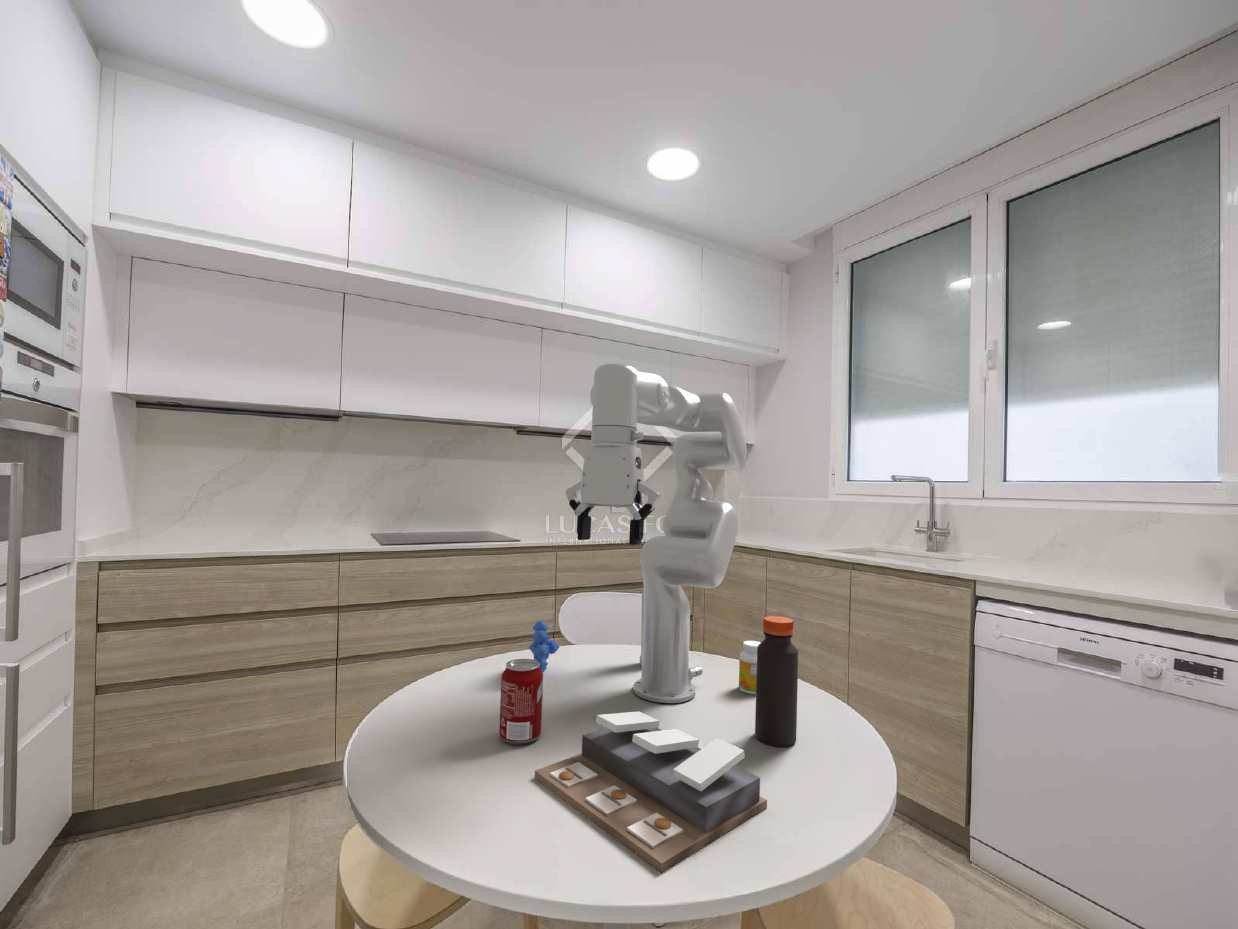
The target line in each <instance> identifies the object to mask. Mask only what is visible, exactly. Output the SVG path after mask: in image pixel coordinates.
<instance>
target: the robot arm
mask: <svg viewBox="0 0 1238 929" xmlns="http://www.w3.org/2000/svg"><path fill="white" fill-rule="evenodd" d="M589 396H590V402H591V403H590V404H592V405H591V406H592V412H591V413H592V414H591V416H592V417H591V418H592V419H591V434H590V435H591V437H590V438H591V439H590V445H589V446H587V449H586V452H585V455H584V461H583V466H582V471H581V472H582V473H581V479H580V481H578V482H577V483H576V484H574V485H571V486H570V487H567V489H565V491H564V492H565V495H566V498H567V501H568V505H569V507H570V508H571V509H572V510H573V513H574V515H575V516H576V518H577V519H576V521H577V522H576V534H577V540H578V541H585V540H586V541H587V540H590V539H591V534H592V516H591V515H589V513H591V511H592V510H593V509H594V508H595V507H608V508H609V507H612V508H613V507H614V508H626V509H627V510H628V512H629V513H630V514H631V517H632V519H630V521H629V538H628V540H629V541H628V543H629V544H630V546H635V545H641V544H642V540H643V538H644V533H645V531H644V529H645V527H644V526H645V520H647V518H648V516H649V515H650V514H651V513H653V511H654V510H655V507H656V506H657V505H658V504H657V503H658V502H659V501H660V498H661V494H660V492H658V491H657V490H655V489H653V488H652V487H650V486H648V485H647V484H646V483H645V475H644V464H643V455H642V450H641V448H640V447H636V445H638V442H639V441H643V439H644V433H643V432H642V431H638V429H637V428H638V427H637V426H638V424H642V425H646V426H652V427H653V426H654V427H663V428H666V429H667V428H668V429H671V430H675V431H678V432H679V431H680V432H684V433H685V434H682V435H680V436H679V437H677V438H676V439H675V441H674V444H673V446H672V457H673V458H672V459H673V465H674V467H673V468H674V473H675V477H676V484H677V485H676V488H675V491H674V493H673V496H672V499H671V501H670V503H669V506H668V508H667V510H666V513H665V515H664V518H663V522H662V530H663V534H664V535H659V536H654V537H650V538H649V539H647V540H646V541H645V542H644V544H643V545H642V547H641V550H640V568H641V574H642V575H641V576H642V583H643V592H644V616H643V646H642V666H641V676H640V677H641V678H639V679H637V680H636V681H635V682H634V683H633V686H632V688H633V692H634V694H635V695H636V696H637V697H639V698H641V699H644V700H646V701H650V702H654V703H660V704H679V703H684V702H687V701H690V700H691V699H694V697H695V696H696V687H695V686H694V684H693V683H692V681H691V680H693V679H694V678H696V677H700V676H702V674H703V669H702V667H701V666H699V665H697V666H694V667H690V666H689V662H690V660H689V659H690V630H691V629H690V627H691V625H690V624H691V604H690V601H689V599H688V596H687V594H686V593H685V591H684V588H683V587H682V586H688V587H694V588H695V587H696V588H703V589H712V588H717V587H718V586H720V585H721V583H722V582H723V581H724V578H725V575H726V573H727V569H728V566H729V563H730V559H731V557H732V556H731V555H732V553H733V550H734V547H735V544H736V539H737V536H738V535H737V534H738V531H739V530H738V529H739V520H738V519H739V517H738V513H737V511H736V509H735V507H734V506H733V505H732V504H730V503H729V502H726V501H721V500H720V501H719V500H713V499H714V494H715V492H714V488H713V487H712V485H711V483H710V482H709V481H708V479H707V478H706V477H705V476H704V475H703V474H702V473H701V471H700V470H737V469H740V468H742V466H743V465H745V463H746V461H747V455H748V452H747V451H748V450H747V447H748V446H747V442H746V437H745V435H744V430H743V426H742V424H741V419H740V416H739V412H738V409H737V407H736V405H735V402H734V401H733V399H732V397H730V395H729V394H727V393H725V392H705V393H694V392H693V393H692V392H689V391H687V390H685V389H682V388H680V387H678V386H675V385H672V384H667V382H666V380H664V379H663V378H662V377H661V376H660V375H658V374H656V373H652V372H646V371H640V370H637V369H636V368H635V367H634V366H631V365H629V364H624V363H605V364H601V365H599V366H598V367H597V368H596V369H595V371H594V376H593V384H592V386H591V389H590V395H589ZM579 493H580V500H579V498H578V494H579ZM645 496H647V501H646V503H645V504H644V502H645V500H644V499H645ZM643 504H644V505H643Z"/></svg>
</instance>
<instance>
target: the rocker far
mask: <svg viewBox="0 0 1238 929" xmlns="http://www.w3.org/2000/svg"><path fill="white" fill-rule="evenodd" d="M595 723H596V724H598V725H601V726H603V728H605V727H606V728H608V729H610V730H612V731H613V732H615V733H617V732H625V731H634V730H642V729H651V728H659V725H660V720H658V719H657V718H655V717H653V716H650V715H648V714H646V713H644V712H641V711H630V712H629V711H627V712H618V713H617V712H616V713H615V712H614V713H607V714H604V713H603V714H596V718H595Z"/></svg>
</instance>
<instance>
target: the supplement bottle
mask: <svg viewBox="0 0 1238 929" xmlns="http://www.w3.org/2000/svg"><path fill="white" fill-rule="evenodd" d="M760 643H761V642H760V641H756V640H745V641H743V643H742V649H743V651H742V652H741V653H739V671H738V689H739V690H740V691H741V692H743V693H746V694H749V695H756V675H757V648H758V645H759V644H760Z"/></svg>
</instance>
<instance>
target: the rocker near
mask: <svg viewBox="0 0 1238 929" xmlns="http://www.w3.org/2000/svg"><path fill="white" fill-rule="evenodd" d="M700 749H701V750H700V751H698V752H697V753H695V754H694V755H693V756H691V757H690V758H688V759H687V760H686V761H684V762H683V763H681V764H680V765H679V766H677V767H676V768H674V769H673V771H674V777H676V778H678V779H679V780H681V781H683V782H685V783H687V784H688V785H690V786H692V787H694V788H695V789H697V790H699V791H702V790H704V789H705V788H706V787H708V786H709V785H710V784H711V783H713V782H714V781H715V780H716V779H718V778H719V777H720V776H722V775H723V774H724V773H725V772H727V771H728V770H729V769H731V768H732V767H733V766H734V765H735V766H737V764H738V763H739V762H741V761H742V760H743V759H745V755H746V754H745V750H744V749H742V748H741V747H738V746H736V745H733V744H732V743H730V742H727V741H725V740H722V739H720V738H718V737H716V738H715V739H714V740H712V741H711V742H710V743H708V744H707V745H706V746H703V747H702V748H700Z"/></svg>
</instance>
